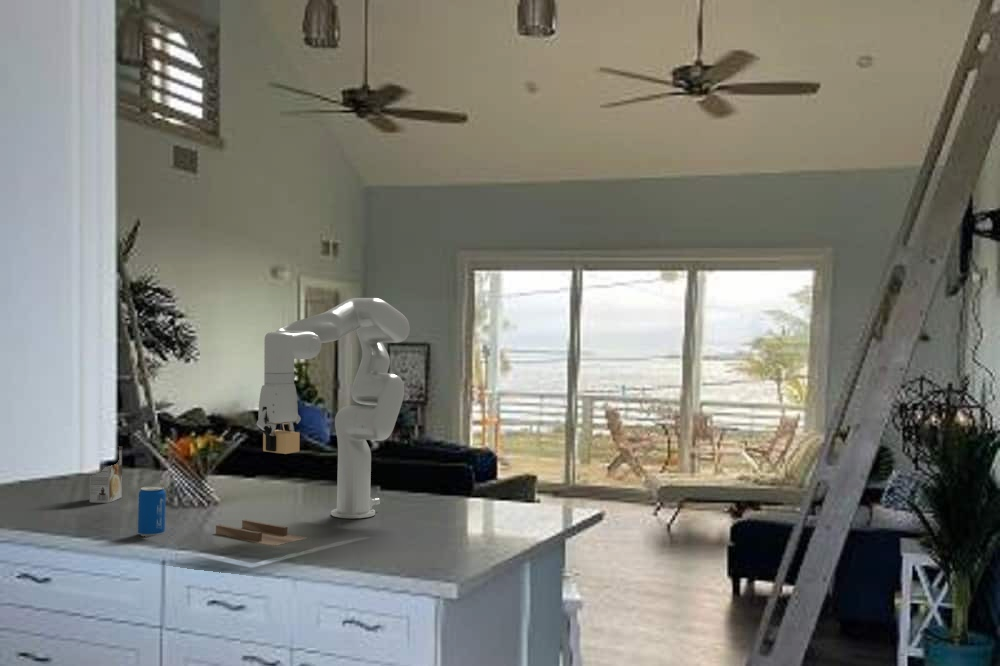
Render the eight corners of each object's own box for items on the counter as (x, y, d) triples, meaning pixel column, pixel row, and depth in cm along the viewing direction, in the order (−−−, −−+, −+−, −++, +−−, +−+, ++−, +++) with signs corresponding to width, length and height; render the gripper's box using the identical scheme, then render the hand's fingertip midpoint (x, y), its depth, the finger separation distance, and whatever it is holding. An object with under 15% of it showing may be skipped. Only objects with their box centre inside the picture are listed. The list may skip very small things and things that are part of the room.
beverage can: (148, 538, 238) (149, 490, 238) (132, 535, 242) (133, 488, 242) (170, 534, 244) (171, 487, 244) (153, 531, 247) (154, 485, 247)
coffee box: (101, 497, 295) (102, 445, 295) (122, 497, 294) (123, 446, 294) (88, 502, 285) (89, 449, 285) (109, 503, 285) (110, 449, 285)
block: (277, 448, 249) (277, 429, 249) (299, 451, 245) (299, 432, 245) (263, 451, 245) (263, 431, 245) (285, 453, 241) (285, 434, 241)
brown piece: (248, 530, 250) (248, 519, 250) (308, 541, 238) (308, 529, 238) (212, 537, 241) (213, 526, 241) (273, 550, 229) (274, 537, 229)
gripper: (292, 377, 254) (292, 444, 255) (243, 380, 240) (243, 452, 240) (313, 378, 250) (312, 447, 251) (265, 382, 236) (264, 454, 236)
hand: (279, 448), depth 246 cm, fingers closed on block, 5 cm apart
